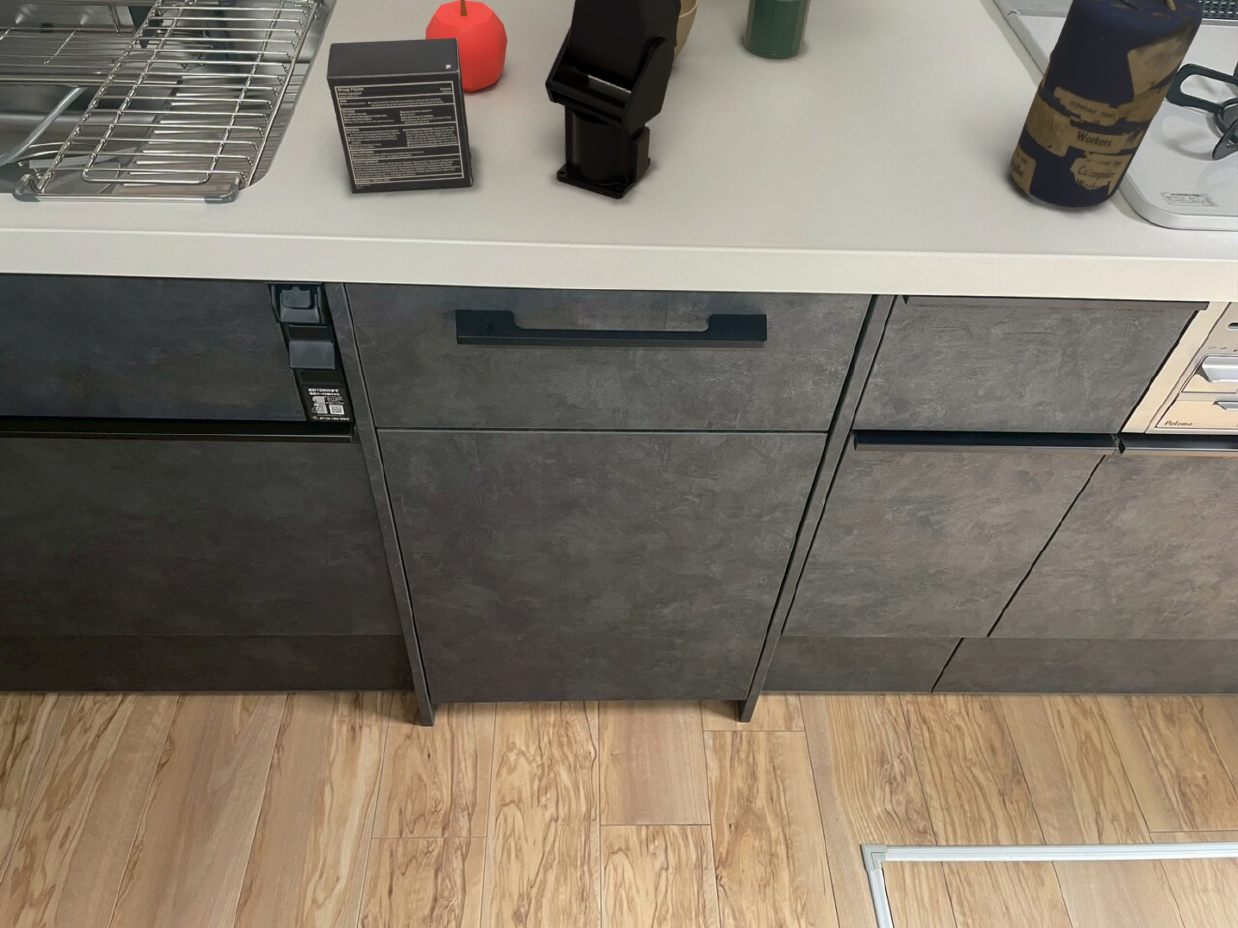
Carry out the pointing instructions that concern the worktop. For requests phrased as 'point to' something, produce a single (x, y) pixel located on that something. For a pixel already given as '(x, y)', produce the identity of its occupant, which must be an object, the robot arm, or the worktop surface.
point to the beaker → (776, 27)
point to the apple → (472, 40)
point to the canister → (1100, 96)
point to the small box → (401, 114)
